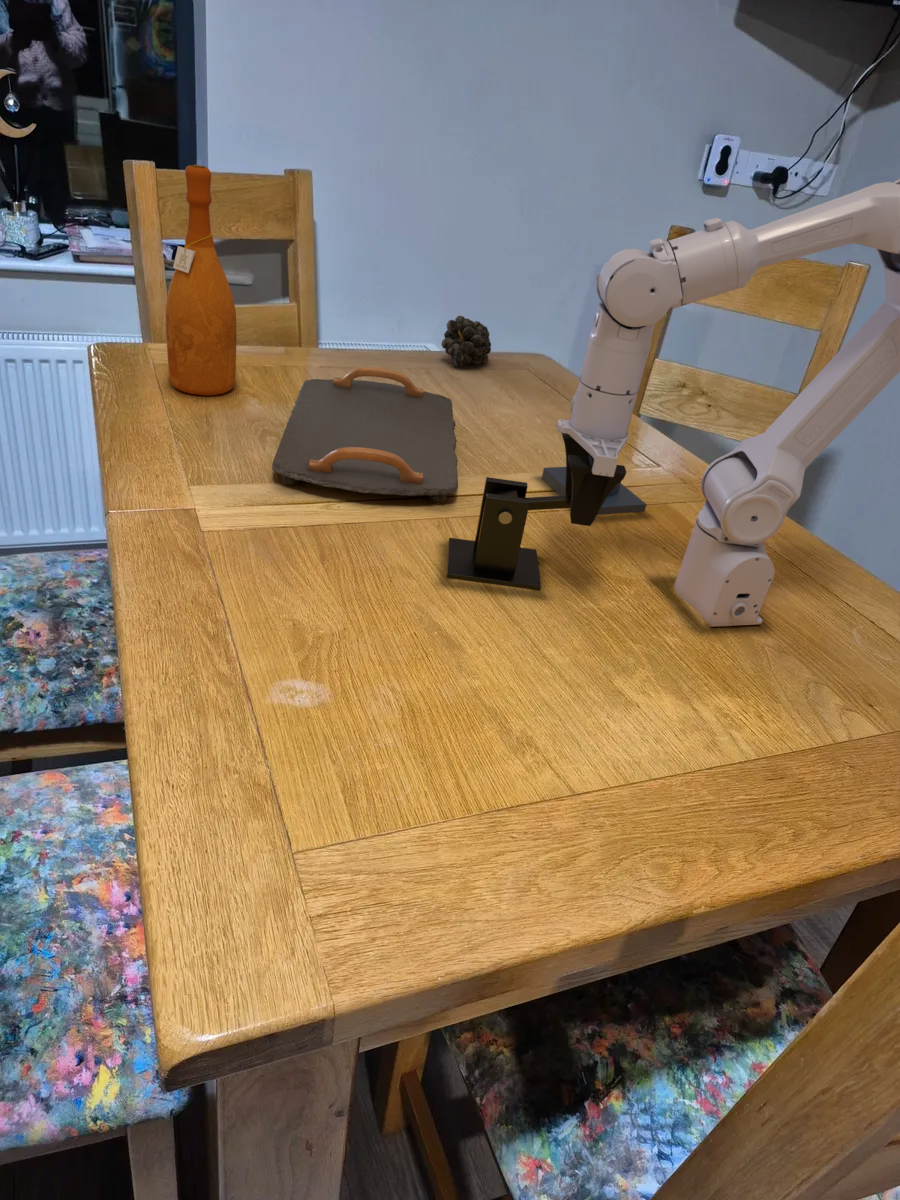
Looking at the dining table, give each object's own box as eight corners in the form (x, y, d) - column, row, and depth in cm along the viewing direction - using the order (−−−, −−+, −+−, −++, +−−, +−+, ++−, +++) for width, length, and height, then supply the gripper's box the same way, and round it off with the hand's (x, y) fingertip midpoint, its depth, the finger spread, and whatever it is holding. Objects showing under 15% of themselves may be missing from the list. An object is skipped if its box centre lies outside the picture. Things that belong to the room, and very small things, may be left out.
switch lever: (584, 500, 89) (584, 480, 88) (589, 522, 85) (590, 500, 84) (491, 505, 90) (490, 485, 88) (492, 527, 85) (490, 506, 84)
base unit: (643, 515, 109) (650, 491, 107) (584, 520, 105) (591, 495, 103) (596, 476, 118) (602, 453, 116) (541, 478, 114) (546, 455, 112)
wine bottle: (167, 374, 127) (157, 155, 111) (233, 376, 131) (233, 164, 114) (169, 397, 120) (159, 166, 104) (239, 399, 123) (240, 175, 107)
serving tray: (304, 390, 130) (306, 350, 127) (450, 408, 132) (456, 370, 129) (264, 499, 97) (265, 450, 94) (458, 522, 100) (466, 474, 96)
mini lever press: (534, 558, 95) (552, 480, 89) (538, 595, 88) (558, 513, 83) (447, 546, 94) (460, 467, 89) (445, 583, 87) (459, 499, 82)
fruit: (518, 342, 157) (484, 332, 144) (495, 379, 161) (459, 374, 147) (485, 317, 159) (448, 305, 146) (462, 354, 163) (424, 346, 150)
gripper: (561, 356, 86) (536, 476, 93) (575, 404, 73) (545, 538, 81) (628, 366, 86) (597, 485, 93) (653, 416, 74) (616, 548, 81)
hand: (577, 510), depth 87 cm, fingers closed on switch lever, 5 cm apart
